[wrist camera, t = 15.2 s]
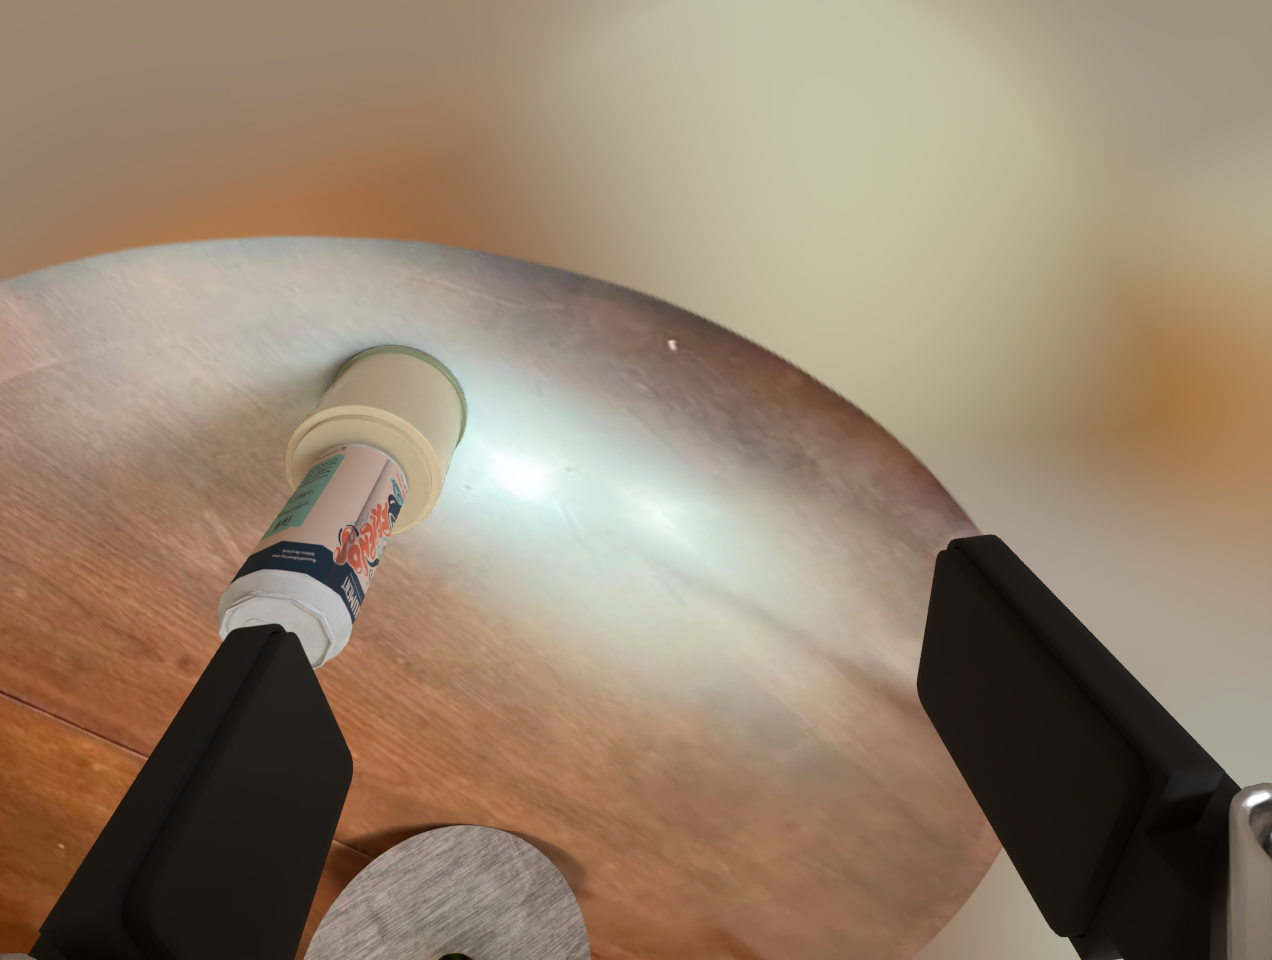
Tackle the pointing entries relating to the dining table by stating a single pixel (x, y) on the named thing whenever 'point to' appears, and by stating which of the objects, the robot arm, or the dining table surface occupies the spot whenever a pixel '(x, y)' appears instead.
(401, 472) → the beer can
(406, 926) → the disc
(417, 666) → the dining table surface
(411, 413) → the cup
